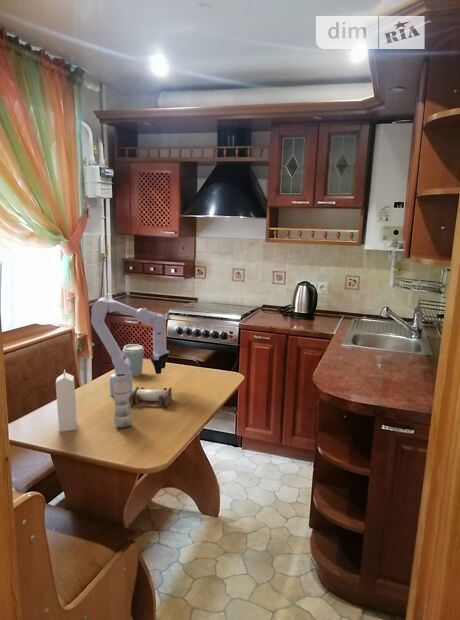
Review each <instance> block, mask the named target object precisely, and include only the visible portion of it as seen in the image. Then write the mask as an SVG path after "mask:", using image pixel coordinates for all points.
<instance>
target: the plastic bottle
mask: <svg viewBox="0 0 460 620" xmlns="http://www.w3.org/2000/svg"><path fill="white" fill-rule="evenodd" d="M116 381H117V382H116V383H115V385H114V386H113V394H114V396H113V398H114V417H113V418H114V419H113V421H114V425H115V426H116V427H117V428H120V429H123V428H128V427H129V426H130V425H132V420H133V418H132V413H131V405H130V386H129V384H128V383H127V382H126V374H117V375H116Z"/></svg>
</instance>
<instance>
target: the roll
mask: <svg viewBox="0 0 460 620" xmlns="http://www.w3.org/2000/svg"><path fill="white" fill-rule="evenodd" d="M167 392H168V390H167V391H166V390H163V389H147V388H146V389H145V388H144V389H140V388H139V389H138V390H137V393H136V394H139V401H159V395H163V402H165V395H166V393H167Z"/></svg>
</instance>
